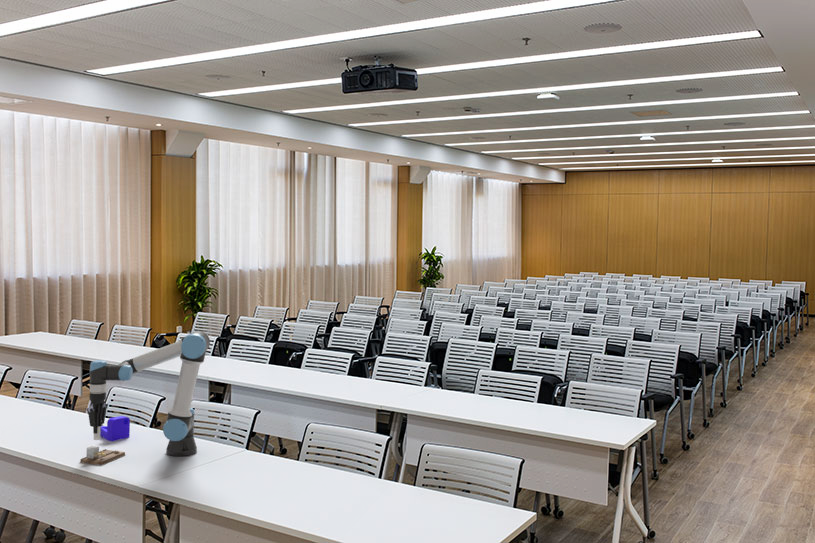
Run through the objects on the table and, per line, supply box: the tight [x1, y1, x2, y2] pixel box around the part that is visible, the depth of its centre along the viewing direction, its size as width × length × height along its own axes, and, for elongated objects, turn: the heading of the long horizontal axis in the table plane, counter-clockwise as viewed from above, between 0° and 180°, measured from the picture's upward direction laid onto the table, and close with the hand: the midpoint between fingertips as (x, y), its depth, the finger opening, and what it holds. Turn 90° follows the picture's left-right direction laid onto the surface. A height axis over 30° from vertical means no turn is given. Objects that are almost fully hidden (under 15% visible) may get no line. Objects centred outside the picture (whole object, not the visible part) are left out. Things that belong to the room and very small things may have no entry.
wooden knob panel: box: [79, 448, 126, 466], centre depth 358 cm, size 12×18×3 cm, turn 165°
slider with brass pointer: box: [85, 445, 106, 459], centre depth 353 cm, size 9×4×5 cm, turn 75°
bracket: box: [100, 415, 131, 442], centre depth 399 cm, size 18×11×12 cm, turn 57°
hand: (96, 439), depth 356 cm, fingers closed
